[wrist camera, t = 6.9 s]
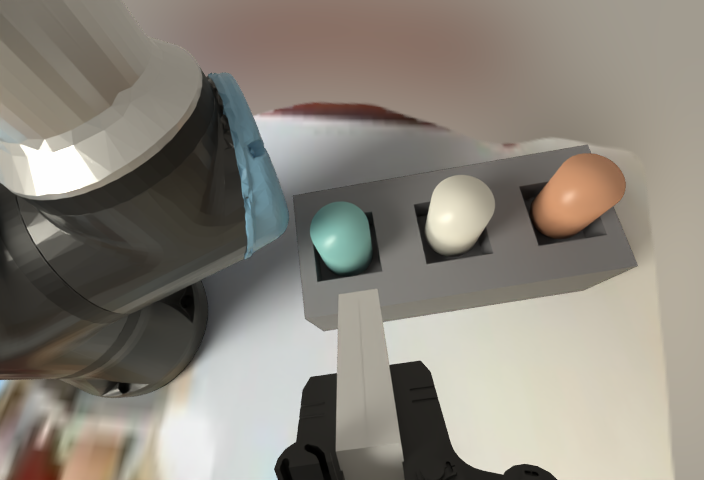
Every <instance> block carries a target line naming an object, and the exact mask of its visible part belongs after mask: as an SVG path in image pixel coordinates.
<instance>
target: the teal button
mask: <svg viewBox="0 0 704 480" xmlns="http://www.w3.org/2000/svg"><path fill="white" fill-rule="evenodd" d="M310 236H311V239H312V242H313V244H314V245H315V247H316V249H317V250H318V252H319V254H320V256H321V257H322V259H323V261H324V262H325V264H326V266H327V267H328V269H329V270H330V271H331V272H333V273H334V274H336V275H338V276H342V277H351V276H356V275H358V274H360V273H362V272H363V271H364V270H365V269H366V268H367V267H368V266H369V264H370V262H371V260H372V255H373V251H372V243H371V237H370V230H369V223H368V220H367V217H366V215H365V214H364V212H363V211H362V210H361V209H360V208H359V207H357V206H356V205H354V204H352V203H348V202H333V203H330V204H327V205H325V206H324V207H322V208H321V209H320V210H319V211H318V212H317V213H316V214H315V216H314V217H313V219H312V222H311V225H310Z"/></svg>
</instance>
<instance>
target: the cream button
mask: <svg viewBox="0 0 704 480" xmlns="http://www.w3.org/2000/svg"><path fill="white" fill-rule="evenodd" d="M494 209H495V200H494V196H493V194H492V192H491V190H490V189H489V187H488V186H487V185H486V184H485V183H484V182H482V181H481V180H479V179H477V178H475V177H472V176H468V175H455V176H451V177H448V178H446V179H444V180H443V181H441V182H440V183H439V184H438V185H437V186H436V188H435V189H434V191H433V194H432V198H431V202H430V206H429V211H428V215H427V220H426V224H425V230H424V234H425V239H426V241H427V243H428V245H429V246H430V247H431V248H432V249H433V250H434V251H435V252H437V253H438V254H440V255H443V256H447V257H457V256H461V255H463V254H465V253H467V252H468V251H470V250H471V249H472V247H473V246H474V244H475V243H476V241H477V240H478V238H479V236H480V235H481V233H482V232H483V230H484V228H485V227H486V225H487V224H488V222H489V221H490V219H491V217H492V216H493V213H494Z"/></svg>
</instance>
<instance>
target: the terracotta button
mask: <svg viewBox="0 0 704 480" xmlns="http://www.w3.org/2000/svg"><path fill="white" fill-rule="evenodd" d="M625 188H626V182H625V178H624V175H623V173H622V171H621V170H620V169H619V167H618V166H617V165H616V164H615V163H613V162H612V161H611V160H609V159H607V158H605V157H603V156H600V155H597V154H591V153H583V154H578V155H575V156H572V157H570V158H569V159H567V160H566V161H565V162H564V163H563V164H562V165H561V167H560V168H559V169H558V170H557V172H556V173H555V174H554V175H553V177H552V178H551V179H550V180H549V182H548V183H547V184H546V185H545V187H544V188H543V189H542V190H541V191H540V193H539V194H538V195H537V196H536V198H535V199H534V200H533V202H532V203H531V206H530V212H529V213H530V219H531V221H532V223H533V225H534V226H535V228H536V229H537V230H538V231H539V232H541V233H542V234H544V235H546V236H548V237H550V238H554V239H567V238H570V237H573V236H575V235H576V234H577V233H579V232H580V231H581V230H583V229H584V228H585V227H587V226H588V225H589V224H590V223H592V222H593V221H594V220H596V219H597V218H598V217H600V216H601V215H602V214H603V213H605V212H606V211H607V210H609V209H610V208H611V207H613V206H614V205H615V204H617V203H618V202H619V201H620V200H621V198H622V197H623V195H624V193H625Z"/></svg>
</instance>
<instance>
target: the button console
mask: <svg viewBox="0 0 704 480" xmlns="http://www.w3.org/2000/svg"><path fill="white" fill-rule="evenodd" d="M583 153H591V151H590V149H589V147H588V145H583V146H577V147H571V148H565V149H560V150H554V151H548V152H542V153H536V154H531V155H525V156H519V157H513V158H508V159H502V160H496V161H490V162H484V163H479V164H473V165H467V166H461V167H455V168H450V169H444V170H438V171H432V172H426V173H421V174H415V175H409V176H403V177H397V178H392V179H386V180H380V181H374V182H369V183H363V184H357V185H351V186H345V187H340V188H334V189H328V190H322V191H316V192H311V193H305V194H299V195H293V202H294V212H295V222H296V232H297V242H298V252H299V263H300V273H301V283H302V293H303V303H304V313H305V319H306V320H308V321H309V322H311V323H312V324H314V325H315V326H317V327H318V328H320V329H321V330H323V331H328V330H335V329H338V301H339V294H345V293H352V292H358V291H365V290H372V289H378V296H379V302H380V309H381V315H382V321H383V322H386V321H392V320H398V319H405V318H411V317H417V316H424V315H430V314H436V313H443V312H449V311H456V310H462V309H468V308H475V307H481V306H487V305H494V304H500V303H507V302H513V301H519V300H526V299H532V298H538V297H545V296H551V295H558V294H564V293H570V292H577V291H583V290H585V289H588V288H590V287H592V286H594V285H596V284H599V283H601V282H603V281H605V280H608V279H610V278H612V277H614V276H617V275H619V274H621V273H623V272H625V271H628V270H630V269H632V268H634V267H637V266H638V265H637V262H636V260H635V258H634V255H633V253H632V250H631V248H630V246H629V243H628V241H627V238H626V236H625V233H624V231H623V229H622V226H621V224H620V221H619V219H618V217H617V214H616V212H615V209H614V207H611V208H610V209H609V210H607V211H606V212H605V213H603V214H602V215H601V216H600V217H598V218H597V219H596V220H594V221H593V222H592V223H590V224H589V225H588V226H587V227H585V228H584V229H583V230H581V231H580V232H579V233H577V234H576V235H575V236H573V237H570V238H567V239H554V238H550V237H548V236H546V235H544V234H542V233H541V232H539V231H538V230H537V229H536V228H535V226H534V225H533V223H532V221H531V219H530V213H529V212H530V206H531V203H532V202H533V200H534V199H535V198H536V196H537V195H538V194H539V193H540V191H541V190H542V189H543V188H544V187H545V185H546V184H547V183H548V182H549V180H550V179H551V178H552V177H553V175H554V174H555V173H556V172H557V170H558V169H559V168H560V167H561V165H562V164H563V163H564V162H565V161H566V160H567V159H569V158H570V157H572V156H575V155H578V154H583ZM455 175H468V176H472V177H475V178H477V179H479V180H481V181H482V182H484V183H485V184H486V185H487V186H488V187H489V189H490V190H491V192H492V194H493V196H494V200H495V209H494V213H493V216H492V217H491V219H490V221H489V222H488V224H487V225H486V227H485V228H484V230H483V232H482V233H481V235H480V236H479V238H478V240H477V241H476V243H475V244H474V246H473V247H472V249H471V250H470V251H468V252H467V253H465V254H463V255H461V256H457V257H447V256H443V255H440V254H438V253H437V252H435V251H434V250H433V249H432V248H431V247H430V246H429V245H428V243H427V241H426V239H425V234H424V230H425V224H426V220H427V215H428V211H429V206H430V202H431V198H432V194H433V191H434V189H435V188H436V186H437V185H438V184H439V183H440V182H441V181H443V180H444V179H446V178H448V177H451V176H455ZM333 202H348V203H352V204H354V205H356V206H357V207H359V208H360V209H361V210H362V211H363V212H364V214H365V215H366V217H367V220H368V223H369V230H370V237H371V243H372V251H373V255H372V260H371V262H370V264H369V266H368V267H367V268H366V269H365V270H364V271H363V272H362V273H360V274H358V275H356V276H351V277H342V276H338V275H336V274H334V273H333V272H331V271H330V270H329V269H328V267H327V266H326V264H325V262H324V261H323V259H322V257H321V256H320V254H319V252H318V250H317V249H316V247H315V245H314V244H313V242H312V239H311V236H310V225H311V222H312V219H313V217H314V216H315V214H316V213H317V212H318V211H319V210H320V209H321V208H322V207H324V206H325V205H327V204H330V203H333Z"/></svg>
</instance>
